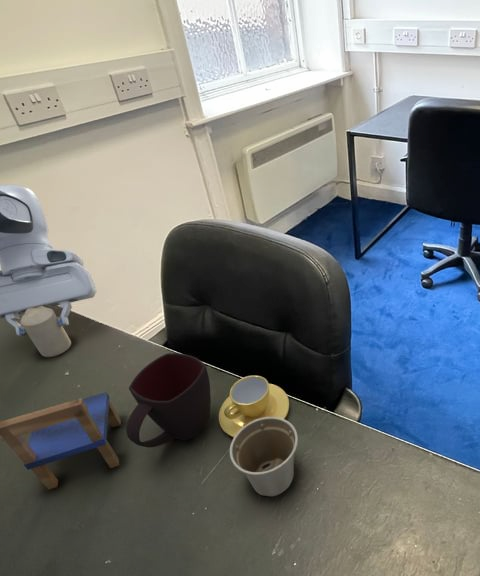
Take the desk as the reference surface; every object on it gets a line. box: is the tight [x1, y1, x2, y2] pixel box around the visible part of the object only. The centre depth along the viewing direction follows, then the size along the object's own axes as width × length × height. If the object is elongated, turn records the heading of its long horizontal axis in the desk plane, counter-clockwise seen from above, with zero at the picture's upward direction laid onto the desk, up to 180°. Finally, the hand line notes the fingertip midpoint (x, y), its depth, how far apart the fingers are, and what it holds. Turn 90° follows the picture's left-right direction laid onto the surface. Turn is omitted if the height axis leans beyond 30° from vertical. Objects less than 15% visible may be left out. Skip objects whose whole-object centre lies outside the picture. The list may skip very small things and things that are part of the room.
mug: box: [125, 352, 212, 448], centre depth 70 cm, size 10×14×12 cm
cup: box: [218, 374, 290, 438], centre depth 75 cm, size 12×12×5 cm
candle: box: [19, 306, 72, 358], centre depth 88 cm, size 6×6×10 cm
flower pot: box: [229, 417, 299, 497], centre depth 65 cm, size 9×9×9 cm
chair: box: [0, 391, 122, 490], centre depth 67 cm, size 10×10×15 cm
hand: (44, 330), depth 88 cm, fingers closed on candle, 5 cm apart
